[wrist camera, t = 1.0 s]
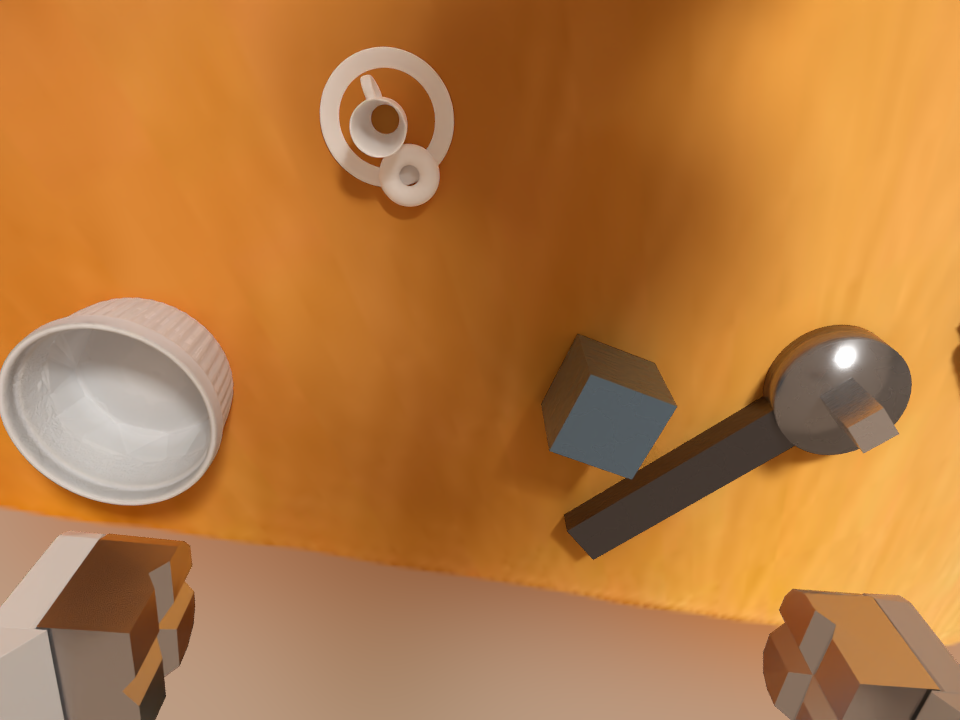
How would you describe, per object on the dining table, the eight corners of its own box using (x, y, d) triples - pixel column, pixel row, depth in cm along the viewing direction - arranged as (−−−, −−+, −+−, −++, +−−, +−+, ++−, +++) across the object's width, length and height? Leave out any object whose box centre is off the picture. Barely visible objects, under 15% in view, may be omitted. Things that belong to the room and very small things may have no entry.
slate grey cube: (577, 333, 48) (590, 374, 42) (654, 363, 49) (677, 406, 43) (541, 404, 50) (549, 450, 45) (615, 430, 51) (631, 479, 46)
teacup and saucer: (446, 205, 44) (444, 222, 41) (320, 191, 44) (306, 207, 40) (460, 55, 40) (459, 59, 37) (322, 38, 40) (306, 40, 36)
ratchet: (607, 562, 57) (622, 624, 51) (544, 492, 54) (552, 550, 48) (911, 392, 50) (969, 441, 44) (859, 299, 47) (913, 339, 41)
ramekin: (196, 477, 53) (159, 539, 47) (27, 387, 49) (-38, 440, 43) (283, 352, 48) (255, 402, 42) (103, 241, 45) (43, 278, 39)
